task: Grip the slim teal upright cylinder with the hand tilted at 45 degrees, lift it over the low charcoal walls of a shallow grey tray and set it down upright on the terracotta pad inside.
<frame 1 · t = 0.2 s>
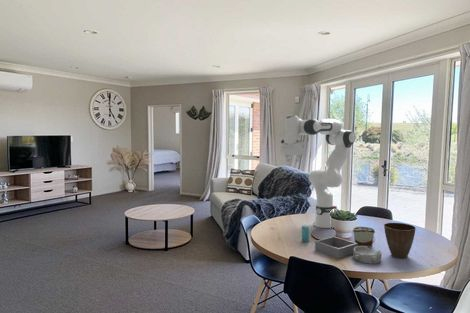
hand: (293, 161, 213), 47 cm above the table, tool pointing down, fingers open, 8 cm apart
dish: (366, 260, 170), on the table
teal upright cylinder: (305, 241, 200), on the table
food container: (362, 245, 193), on the table
shallow grey tray: (336, 251, 183), on the table
plant pot: (398, 256, 175), on the table
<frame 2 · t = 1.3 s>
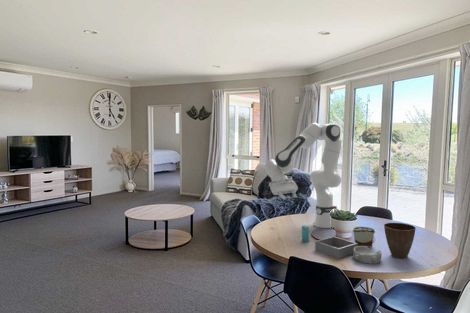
hand: (290, 197, 209), 25 cm above the table, tool tilted 45°, fingers open, 8 cm apart
nothing on the table moved.
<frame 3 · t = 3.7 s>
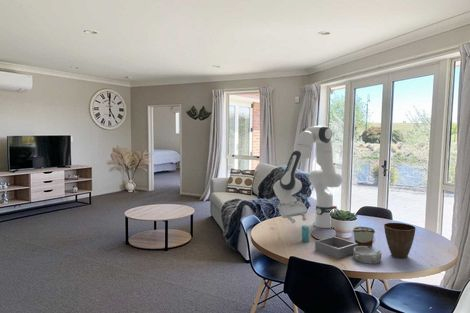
hand: (299, 221, 203), 11 cm above the table, tool tilted 45°, fingers open, 8 cm apart
nothing on the table moved.
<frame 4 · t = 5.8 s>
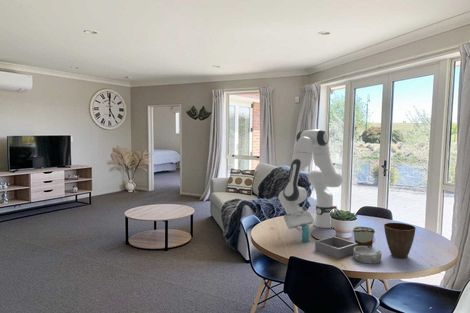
hand: (306, 231, 199), 6 cm above the table, tool tilted 45°, fingers closed on teal upright cylinder, 4 cm apart
teal upright cylinder: (305, 241, 200), on the table, touching gripper
everything else where it was.
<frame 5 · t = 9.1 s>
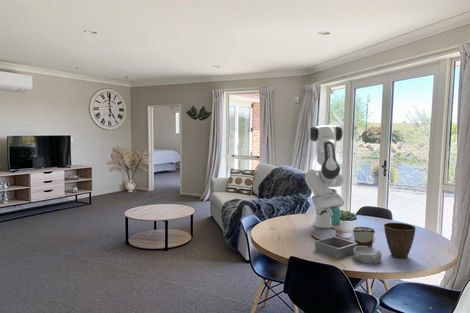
hand: (336, 214, 181), 21 cm above the table, tool tilted 45°, fingers closed on teal upright cylinder, 4 cm apart
teal upright cylinder: (335, 225, 182), point 15 cm above the table, touching gripper
everything else where it was.
when the fingers open (8 cm above the table, at t = 12.6 s): teal upright cylinder drops 1 cm, resting on shallow grey tray.
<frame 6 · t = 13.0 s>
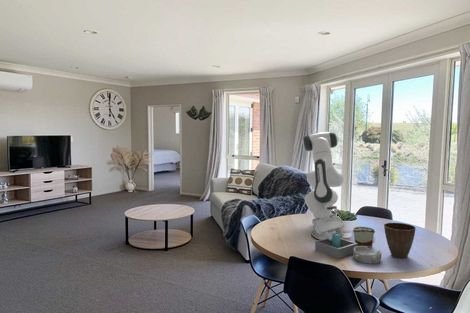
hand: (337, 237, 182), 8 cm above the table, tool tilted 45°, fingers open, 8 cm apart
teal upright cylinder: (336, 250, 183), resting on shallow grey tray
everything else where it was.
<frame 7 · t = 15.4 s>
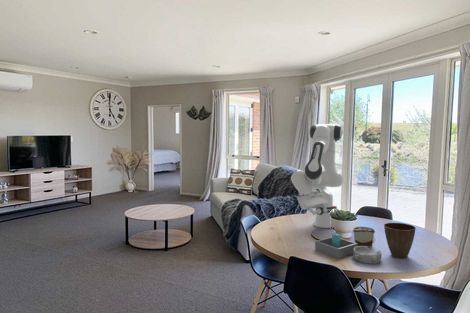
hand: (320, 213, 191), 19 cm above the table, tool tilted 45°, fingers open, 8 cm apart
nothing on the table moved.
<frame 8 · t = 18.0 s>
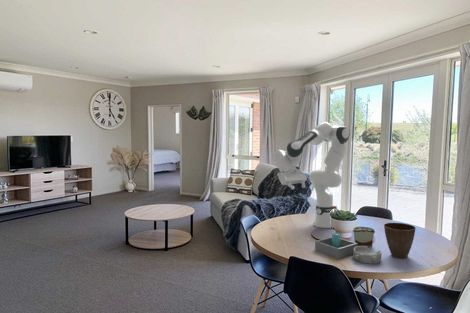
hand: (299, 188, 205), 31 cm above the table, tool tilted 45°, fingers open, 8 cm apart
nothing on the table moved.
at the end: teal upright cylinder inside the target area on the shallow grey tray (0.0 cm from its centre), point 0.3 cm above the shallow grey tray's base; teal upright cylinder tilted 0°; the gripper is holding nothing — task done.
